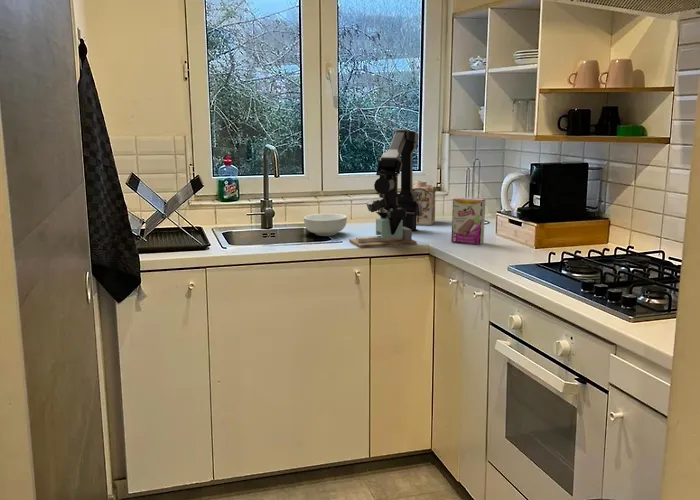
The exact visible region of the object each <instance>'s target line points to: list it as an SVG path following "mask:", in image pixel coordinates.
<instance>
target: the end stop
mask: <svg viewBox="0 0 700 500" xmlns="http://www.w3.org/2000/svg"><path fill="white" fill-rule="evenodd" d="M412 234H413V231H412V230H411V229H409V228H406V227H403V240H404V241H412V240H413V239H412V237H413V236H412Z"/></svg>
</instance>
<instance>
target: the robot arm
mask: <svg viewBox="0 0 700 500" xmlns="http://www.w3.org/2000/svg"><path fill="white" fill-rule="evenodd" d="M418 143H419V134H418V133H416V131H415V130H409V129H406V128H403V129H402V128H400V129H399V128H398V129H395V130H394V131H393V137H392V140H391V143H390V145H389V147H388V150H387V151H385V152H383V154H382V155H381V157H380V158H379V160H378V164H377V170H376V173H375V175H376V176H379V178H377V179H376V180H375V181H374V184H373V185H374V187H373V188H374V190H375V192H376V193H377V194H378V195H379V197H377V198H374V199H372V200H369V201H367V202H366V203H365V204H366V207H367V209H368V212H370V213H375V214H377V215H378V216H379V217H380V218H387V219H388V220H389V222H390V230H391V235H394V234H395V232H396V230H397V228H398V226H399V224H400V222H401V220H403V227H406V228H409V229H411V230H412V232H417V231H418V230H419V229H418V228H417V225H416V216H420V209H419V205H418V202H417V199H416V195H415V193H414V192H413V190H412V185H413V161H414V159H413V157H414V156H413V154H414V152H415V150H416V148H417V146H418ZM399 175H400V192H399V191H398V189H399V188H398V187H399V186H398V185H399V184H398V183H399V182H398V179H399V177H398V176H399ZM398 192H399V193H398ZM409 212H415V213H409Z"/></svg>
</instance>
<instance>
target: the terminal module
mask: <svg viewBox="0 0 700 500" xmlns="http://www.w3.org/2000/svg"><path fill="white" fill-rule="evenodd" d="M375 236H381V238H387V237H402V236H403V220H401V222H400V224H399V226H398V228H397V230H396V232H395V234H394V235H391V230H390V222H389V220H388V219H387V218H381V217H380V218H375Z"/></svg>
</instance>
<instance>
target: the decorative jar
mask: <svg viewBox="0 0 700 500" xmlns="http://www.w3.org/2000/svg"><path fill="white" fill-rule="evenodd" d="M412 190H413V192H414V193H415V195H416V199H417V202H418V205H419V209H420V216H416V226H432V225H433V224H434V222H435V220H436V192H437V191H436V187H435V186H434V185H431V184H427V181H426V180H416V181H415V184H412ZM409 213H415V212H409Z"/></svg>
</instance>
